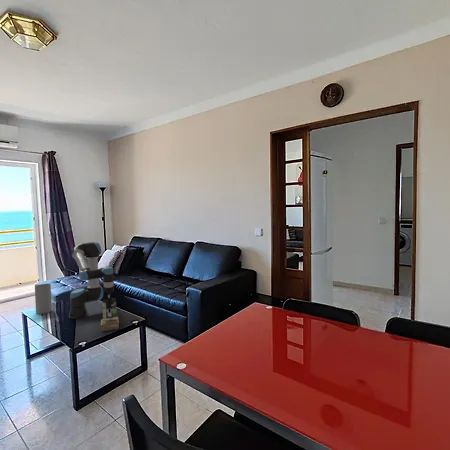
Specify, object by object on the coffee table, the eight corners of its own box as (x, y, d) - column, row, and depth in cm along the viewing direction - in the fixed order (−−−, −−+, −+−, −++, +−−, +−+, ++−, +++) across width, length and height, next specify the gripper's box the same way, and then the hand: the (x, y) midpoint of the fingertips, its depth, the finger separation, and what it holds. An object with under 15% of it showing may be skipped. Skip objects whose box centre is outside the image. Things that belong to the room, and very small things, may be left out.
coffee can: (119, 314, 235) (118, 297, 235) (111, 319, 225) (111, 301, 225) (107, 314, 237) (107, 297, 237) (100, 318, 227) (99, 301, 227)
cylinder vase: (46, 314, 262) (45, 287, 261) (32, 314, 263) (31, 287, 261) (54, 309, 275) (53, 283, 274) (41, 309, 275) (40, 283, 274)
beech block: (101, 325, 235) (101, 319, 235) (118, 322, 240) (118, 316, 240) (101, 331, 223) (100, 324, 223) (118, 328, 228) (118, 322, 228)
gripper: (103, 283, 239) (104, 310, 240) (103, 290, 218) (104, 319, 219) (113, 283, 242) (114, 309, 243) (113, 289, 221) (114, 318, 222)
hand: (109, 314), depth 231 cm, fingers closed on coffee can, 10 cm apart
